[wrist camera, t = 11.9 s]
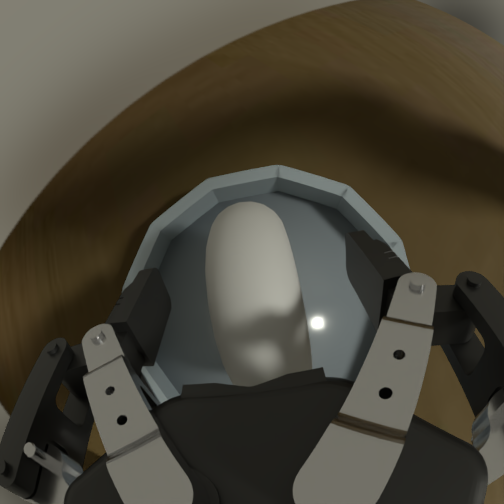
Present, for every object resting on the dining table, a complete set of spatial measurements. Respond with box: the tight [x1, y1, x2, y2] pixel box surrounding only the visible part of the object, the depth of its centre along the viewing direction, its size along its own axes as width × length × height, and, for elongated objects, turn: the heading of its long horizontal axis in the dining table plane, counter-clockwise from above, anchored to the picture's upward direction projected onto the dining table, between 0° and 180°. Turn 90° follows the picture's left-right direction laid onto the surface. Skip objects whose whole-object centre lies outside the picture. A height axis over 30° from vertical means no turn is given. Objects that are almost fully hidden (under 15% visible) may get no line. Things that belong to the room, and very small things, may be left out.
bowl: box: [122, 165, 410, 403], centre depth 17 cm, size 19×19×3 cm
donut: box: [205, 201, 312, 387], centre depth 13 cm, size 10×4×10 cm, turn 10°
